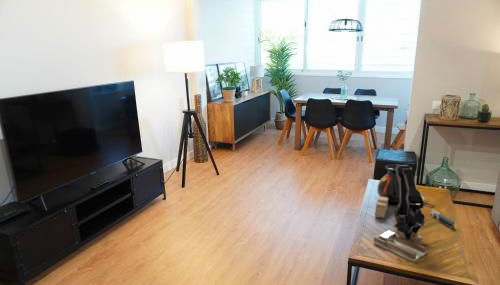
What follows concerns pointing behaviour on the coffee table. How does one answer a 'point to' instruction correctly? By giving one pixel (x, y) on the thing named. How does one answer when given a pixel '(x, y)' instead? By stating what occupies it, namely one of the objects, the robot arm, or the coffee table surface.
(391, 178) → the amphora vase
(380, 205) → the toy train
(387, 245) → the jig
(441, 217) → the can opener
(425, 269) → the coffee table surface
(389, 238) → the white rectangular block
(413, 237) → the long tan block
